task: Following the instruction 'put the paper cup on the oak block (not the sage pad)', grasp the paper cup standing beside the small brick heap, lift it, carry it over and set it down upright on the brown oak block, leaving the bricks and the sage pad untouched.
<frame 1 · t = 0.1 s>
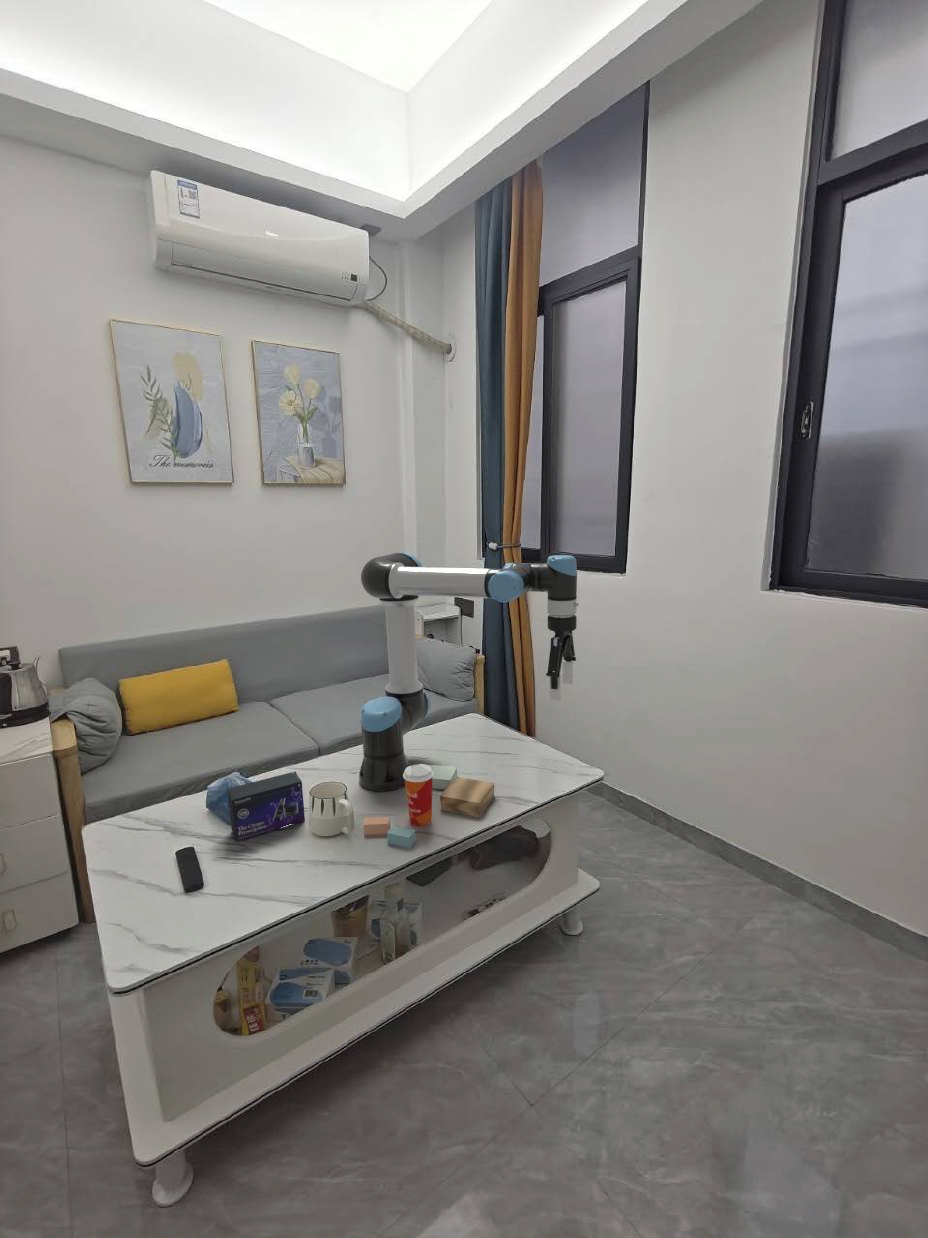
hand: (561, 691, 156), 28 cm above the table, fingers open, 13 cm apart
paper cup: (420, 821, 147), on the table
sage pad: (440, 781, 166), on the table
box: (269, 827, 147), on the table
brick a: (377, 831, 143), on the table
oak block: (467, 803, 155), on the table
brick b: (401, 843, 138), on the table
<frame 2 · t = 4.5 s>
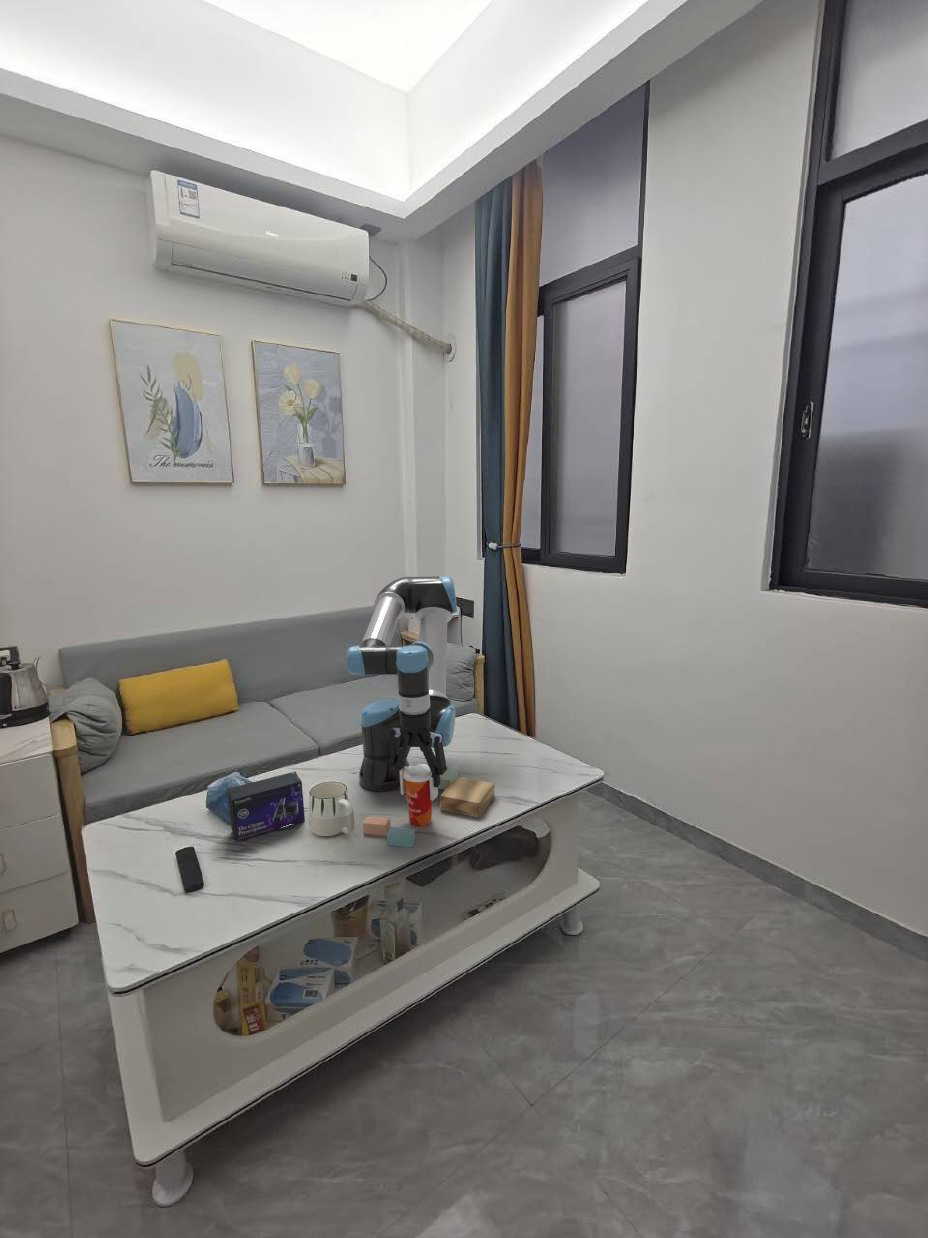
hand: (419, 794, 145), 7 cm above the table, fingers closed on paper cup, 8 cm apart
paper cup: (420, 821, 147), on the table, touching gripper
everything else where it was.
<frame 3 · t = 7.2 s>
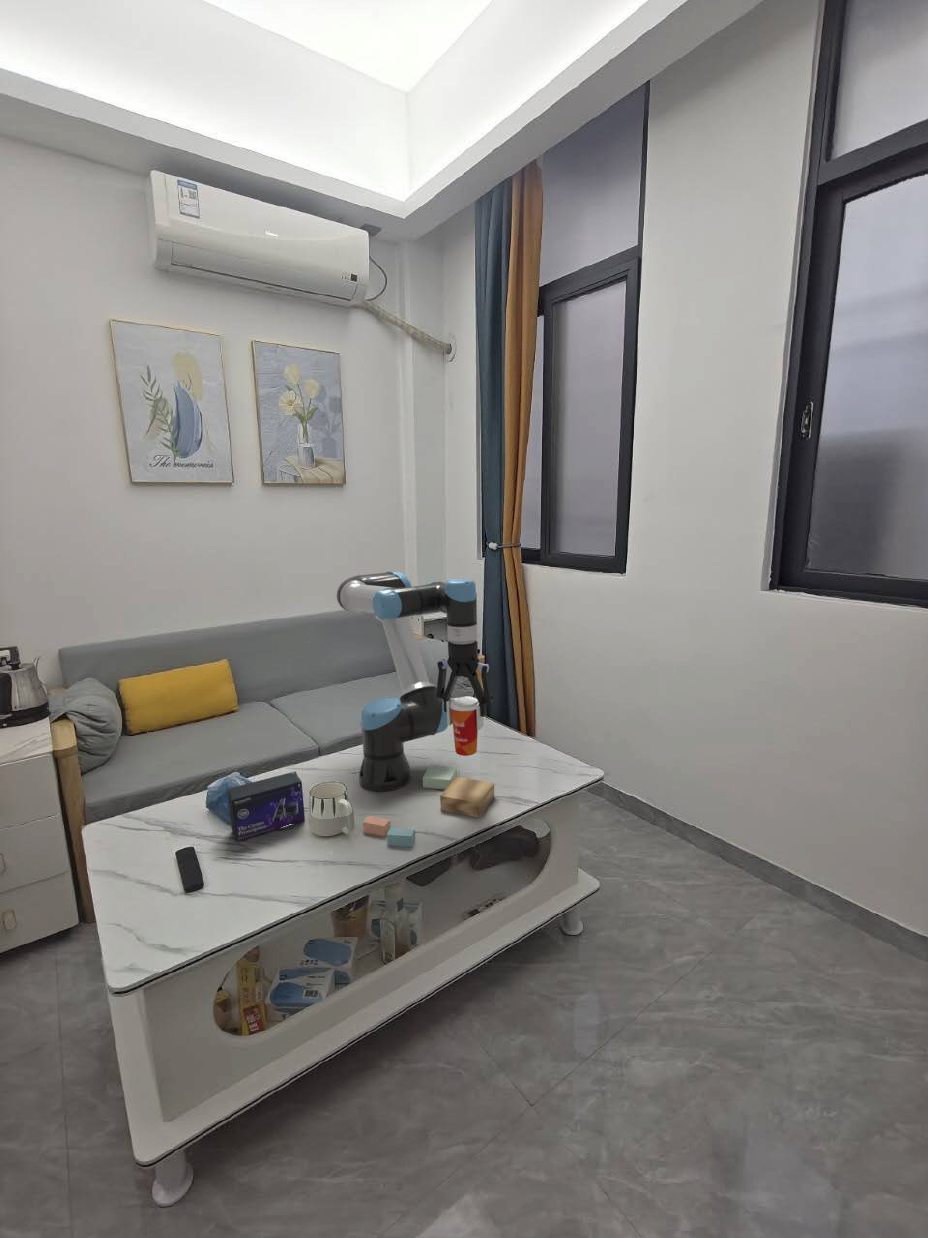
hand: (465, 725, 150), 22 cm above the table, fingers closed on paper cup, 8 cm apart
paper cup: (466, 752, 151), point 15 cm above the table, touching gripper
everything else where it was.
when the fingers open (12 cm above the table, at t = 9.7 s): paper cup stays where it is, resting on oak block.
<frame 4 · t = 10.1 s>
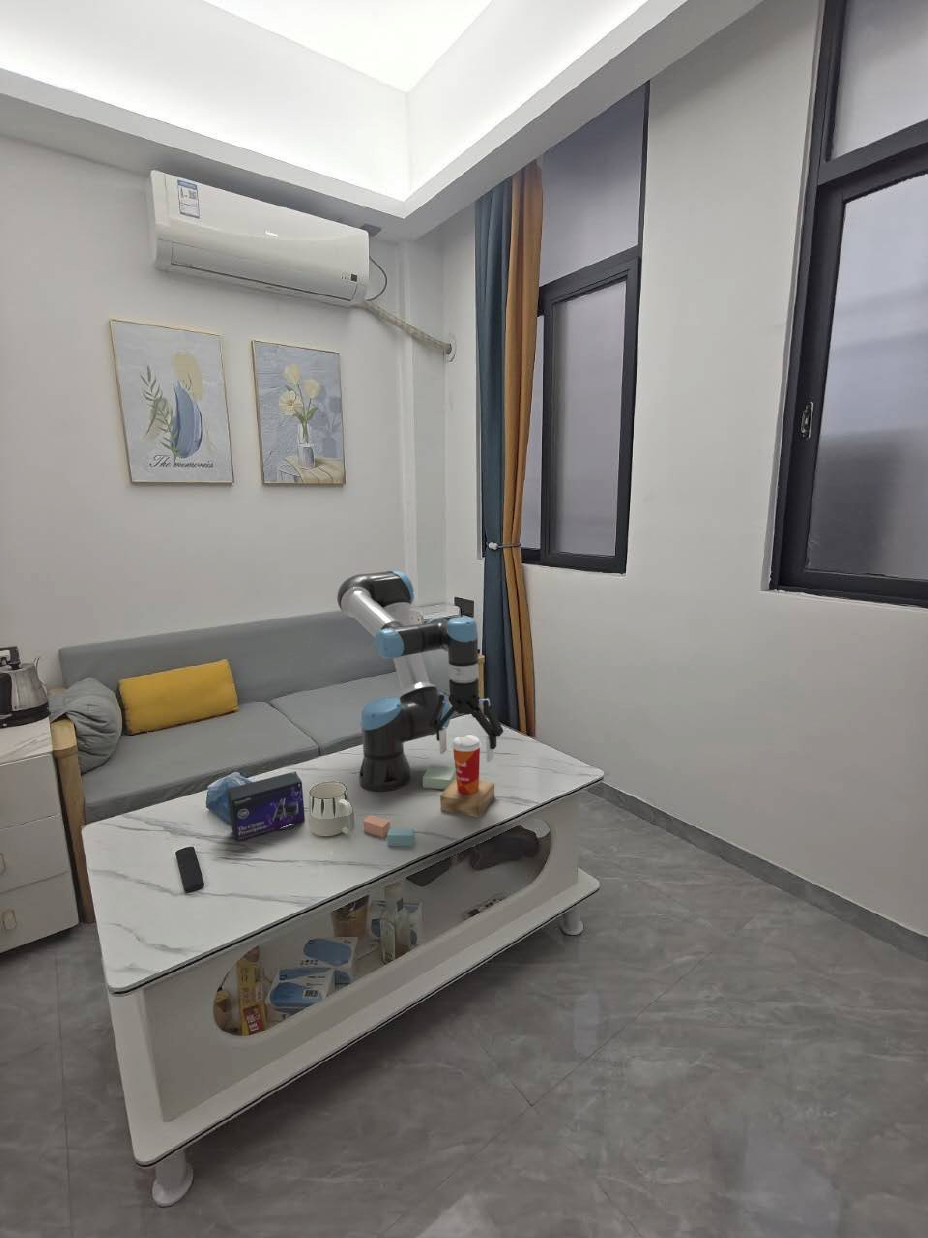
hand: (466, 756, 152), 14 cm above the table, fingers open, 13 cm apart
paper cup: (468, 790, 154), point 4 cm above the table, touching oak block
everything else where it was.
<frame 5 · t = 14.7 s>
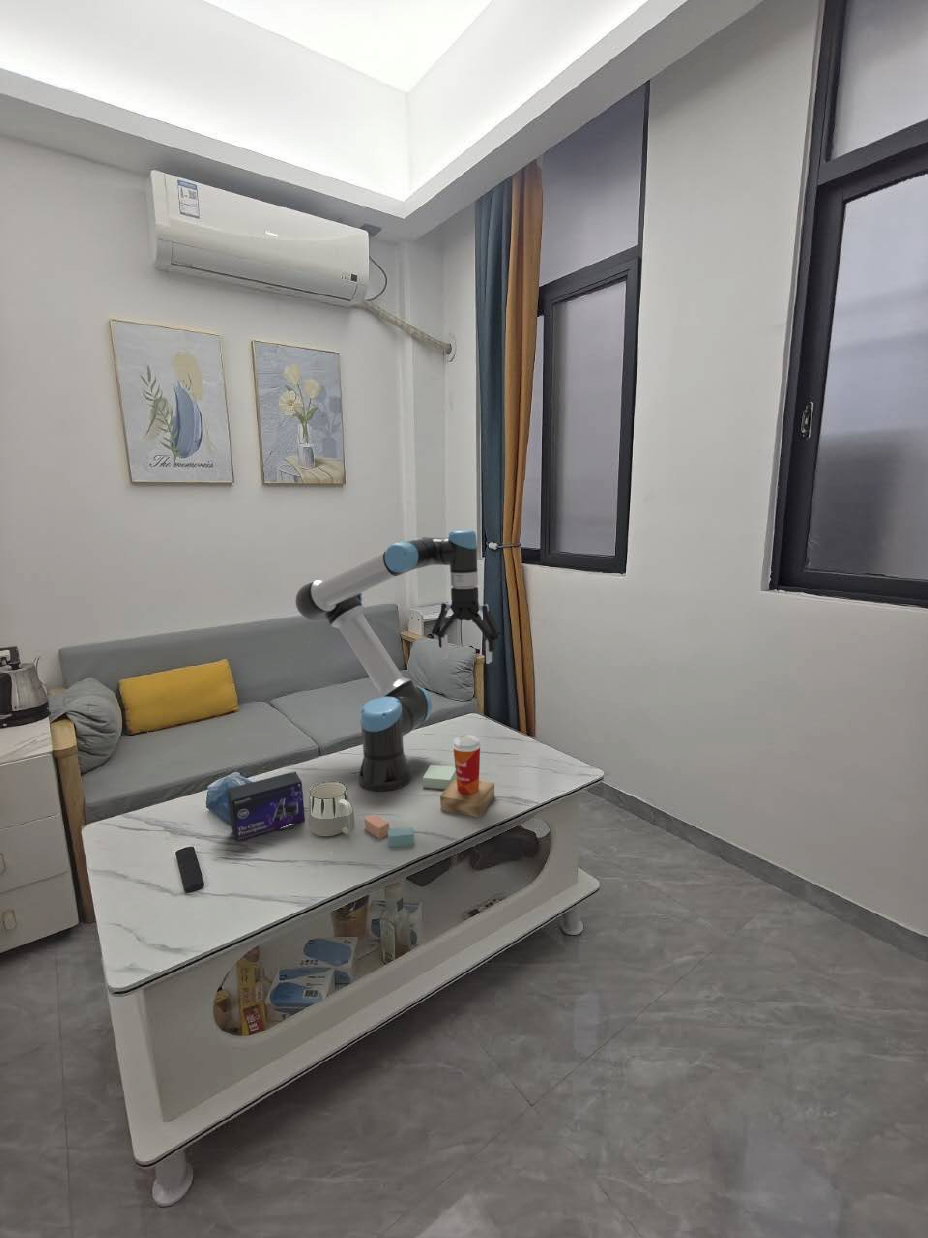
hand: (466, 660, 164), 35 cm above the table, fingers open, 13 cm apart
at the end: paper cup inside the target area on the oak block (0.2 cm from its centre), point 3.8 cm above the oak block's base; paper cup tilted 0°; brick b moved 0.2 cm from its start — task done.
